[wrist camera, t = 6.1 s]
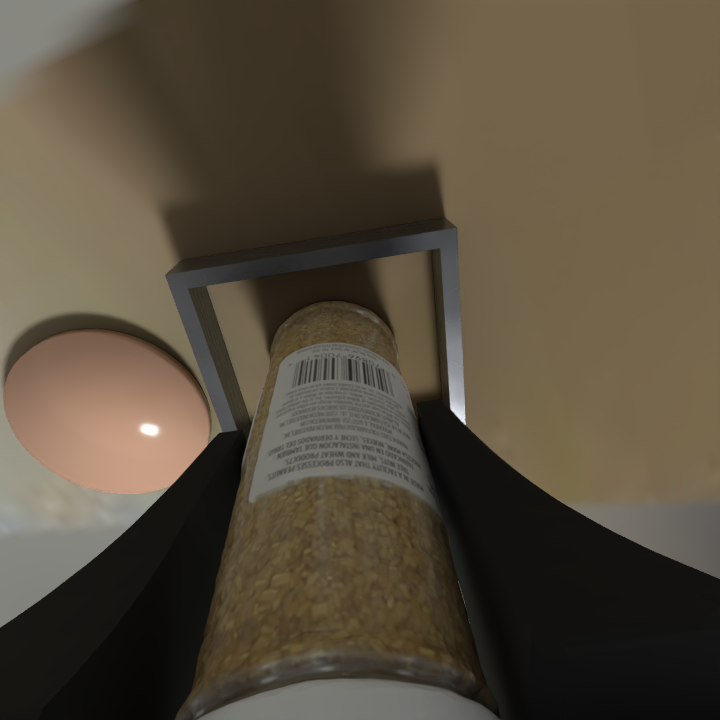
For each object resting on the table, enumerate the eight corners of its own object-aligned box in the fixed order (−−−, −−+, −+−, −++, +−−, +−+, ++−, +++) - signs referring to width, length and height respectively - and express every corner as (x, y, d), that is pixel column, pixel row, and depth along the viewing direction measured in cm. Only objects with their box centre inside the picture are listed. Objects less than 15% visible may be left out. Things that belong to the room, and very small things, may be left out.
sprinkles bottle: (253, 384, 16) (42, 1082, 4) (299, 273, 14) (144, 968, 3) (366, 424, 17) (436, 1068, 6) (422, 326, 16) (707, 980, 4)
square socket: (445, 217, 14) (457, 227, 13) (457, 432, 18) (466, 456, 16) (180, 260, 14) (165, 275, 13) (250, 463, 18) (244, 489, 17)
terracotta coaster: (174, 313, 15) (169, 319, 14) (233, 471, 18) (230, 479, 18) (-28, 346, 15) (-39, 352, 15) (67, 496, 18) (60, 505, 18)
